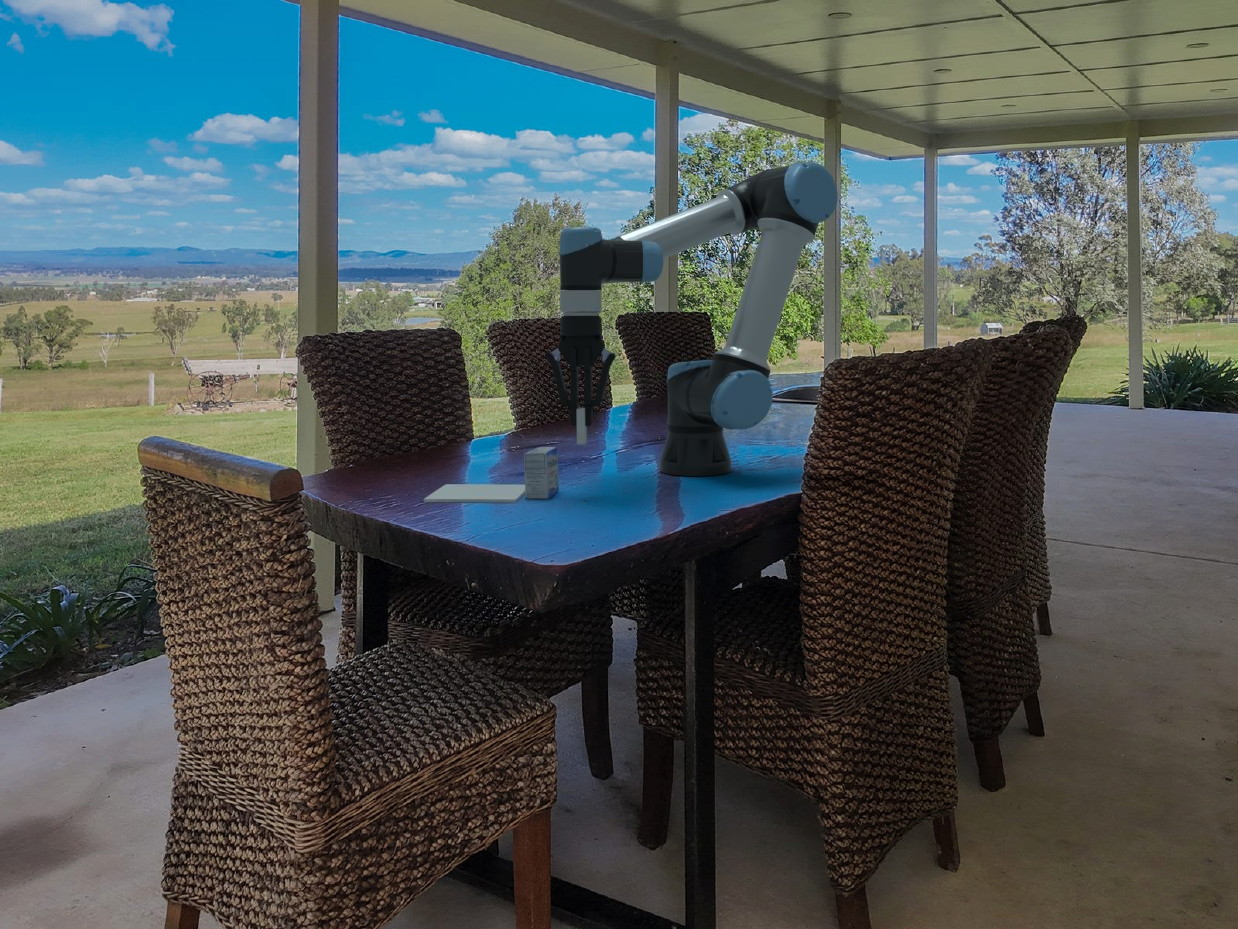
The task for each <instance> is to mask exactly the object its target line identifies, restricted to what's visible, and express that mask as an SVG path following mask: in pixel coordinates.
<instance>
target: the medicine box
mask: <svg viewBox="0 0 1238 929" xmlns="http://www.w3.org/2000/svg"><path fill="white" fill-rule="evenodd" d="M558 454H559V453H558V448H557V446H556V447H555V446H541V447H534V448H533V449H531V450H529V451H527V452H525V453H524V454H523V465H524V466H523V468H524V469H523V470H524V471H523V472H524V485H525V494H524V495H525V498H526V499H530V500H537V499H538V500H549V499H550V498H551V497H553V496H555V494H557V493H558V492H559V490H560V489H559V462H558V461H559V460H558V458H559V457H558Z"/></svg>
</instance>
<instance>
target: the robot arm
mask: <svg viewBox="0 0 1238 929" xmlns="http://www.w3.org/2000/svg"><path fill="white" fill-rule="evenodd" d="M838 195H839V193H838V188H837V183H835V180H834V176H833V175H832V173H831V172H830V171H829V170H828V169H827V167H825V166H824V165H822V164H820V163H818V162H815V161H803V162H802V161H797V162H793V163H792V164H789V165H784V166H780V167H774V168H768V169H764V170H761V171H760V172H757V173H755V174H753V175H752V176H750V177H749V176H748V178H745V179H743V180H741V181H739V182H737V183H735V184H733V185H730V186H729V187H726V188H724V189H721V190H720V191H719V192H718V193H717V194H716V197H715V198H712V199H710V200H707V201H704V202H702V203H699V204H697V205H694V206H692V207H689V208H687V209H683V210H681V211H679V212H677V213H674V214H671V215H669V216H666V217H663V218H661V219H659V220H656V221H652V222H650V223H648V224H646V225H643V226H640V227H638V228H635V229H633V230H630V231H628V232H625V233H623V234H620V235H618V236H616V237H614V238H610V239H604V238H603V234H602V230H601V229H600V228H599V227H594V226H570V227H566V228H563V229H562V231H561V232H560V235H559V236H560V238H559V252H558V256H559V280H560V286H559V287H560V288H559V308H560V309H559V311H560V313H563V315H561V317H560V319H559V320H560V321H559V323H560V338H559V342H558V344H557V348H556V349H554V350H553V351H551V352H549V353H547V354H545V355H546V356H545V358H546V360H547V361H548V363H549V365H550V366H551V368H552V373H553V377H554V380H555V381H554V382H555V384H556V389H557V394H558V397H559V401H560V404H561V405H563V406H565V407H569V409H570V425H571V426H573V427H576V445H586V444H587V443H588V442H587V440H588V438H587V437H588V435H587V434H588V433H587V431H588V430H587V428H588V427H591V426H592V424H593V409H594V407H597V406H600V405H601V404H602V403H603V399H604V395H605V392H606V387H607V382H608V379H609V375H610V371H611V366H612V365H613V363H614V362H615V360H616V358H617V354H616V353H615V352H612V351H610V350H609V349H607V348H606V346H605V343H604V341H603V336H602V334H603V331H602V329H603V326H602V323H603V320H602V319H603V318H602V316H601V315H600V314H599V313H602V311H603V310H602V305H603V304H602V302H603V300H602V295H603V294H602V284H613V283H614V284H616V283H617V284H618V283H620V284H621V283H641V284H642V283H652V282H655V281H657V280H658V279H659V278H660V276H661V274H662V272H663V268H664V260H665V259H667V258H670V257H673V256H675V255H677V254H678V255H679V254H680V253H682V252H685V251H687V250H690V249H692V248H695V247H697V246H700V245H702V244H705V243H707V242H709V241H712V240H714V239H717V238H720V237H722V236H724V235H727V234H730V235H733V236H737V235H740V234H743V233H746V232H748V231H752V230H757V229H758V230H760V232H761V235H760V238H759V241H758V243H757V246H756V251H755V253H754V256H753V259H752V262H751V266H750V269H749V271H748V274H747V277H746V282H745V284H744V288H743V291H742V293H741V296H740V299H739V302H738V305H737V308H736V311H735V314H734V317H733V320H732V324H731V327H730V329H729V330H730V331H729V333H728V336H727V338H726V343H725V345H724V346H723V348H721V349H718V350H717V351H715V352H714V354H713V357H712V359H707V360H706V359H703V360H691V361H682V362H675V363H672V364H671V365H669V367H668V368H667V375H666V376H667V377H666V385H667V394H666V395H667V437H666V440H665V444H664V447H663V449H662V452H661V455H660V459H659V471H660V473H662V474H667V475H675V476H687V477H689V476H690V477H703V476H705V477H708V476H716V475H724V474H728V473H730V472H731V471H732V458H731V456H730V452H729V448H728V446H727V443H726V439H725V436H724V429H726V430H731V431H732V430H733V431H734V430H735V431H736V430H748V429H751V428H754V427H755V426H757V425H758V424H760V423H761V422H762V421H764V419H765V418H766V417H767V416H768V413H769V411H770V410H771V406H772V404H773V399H774V395H773V394H774V393H773V392H774V391H773V390H772V385H771V382H770V381H769V378H770V375H771V371H772V369H771V368H770V364H768V362H767V358H768V355H769V353H770V351H771V347H772V344H773V340H774V337H775V333H776V331H777V328H778V325H779V322H780V319H781V316H782V312H783V310H784V307H785V304H786V300H787V298H788V294H789V291H790V288H791V284H792V282H793V279H794V277H795V273H796V269H797V266H798V263H799V261H800V258H801V254H802V251H803V248H804V246H805V245H807V244H809V243H812V241H814V239H815V235H816V233H817V231H818V227H819V225H820V223H822V222H825V221H826V220H827V219H830V217H831V216H832V215H833V214H834V212H835V210H836V209H837V204H838V198H839V196H838ZM561 355H562V357H563V358H564V360H565V361H566V362H567V363H568V364H569V372H570V374H569V377H570V378H569V385H570V386H569V387H570V388H569V390H570V391H569V394H570V398H569V394H568V390H567V385H566V383H565V382H566V381H565V378H564V374H563V371H562V367H561V366H562V365H561V363H560V360H561ZM601 355H602V358H601V359H602V361H603V364H602V367H601V371H600V375H599V380H598V384H597V388H596V394H595V396H594V399H593V394H594V392H593V388H594V387H593V370H594V369H593V365H594V364H595V363H596V361H597V360H598V359H599V357H600V356H601ZM580 366H583V371H584V372H583V379H584V381H583V383H584V384H583V385H584V392H583V393H584V395H583V397H584V401H583V402H584V405H583V407H579V406H580V399H579V396H580V395H579V393H580V391H579V390H580V388H579V387H580V386H579V385H580V384H579V383H580V382H579V378H580V377H579V374H580V373H579V372H580Z"/></svg>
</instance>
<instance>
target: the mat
mask: <svg viewBox="0 0 1238 929" xmlns="http://www.w3.org/2000/svg"><path fill="white" fill-rule="evenodd" d="M524 495H526V494H525V484H480V483H479V484H478V483H477V484H470V483H469V484H461V483H459V484H457V483H456V484H455V483H452V484H450V483H449V484H448V483H446V484H444V485H442V486H441V487H440V488H437V489H436V490H435V491H434V492H432V493H430V494H429V495H427V496H426V497H425V498H423V503H473V504H474V503H479V504H481V503H487V504H489V503H493V504H494V503H497V504H498V503H499V504H500V503H505V504H507V503H508V504H509V503H513V504H516V503H518V502H519V500H521V498H522V497H524Z"/></svg>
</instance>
